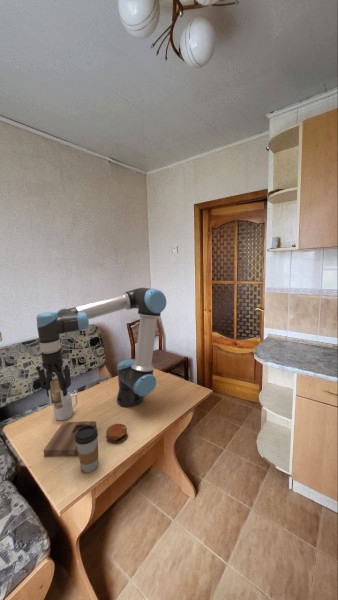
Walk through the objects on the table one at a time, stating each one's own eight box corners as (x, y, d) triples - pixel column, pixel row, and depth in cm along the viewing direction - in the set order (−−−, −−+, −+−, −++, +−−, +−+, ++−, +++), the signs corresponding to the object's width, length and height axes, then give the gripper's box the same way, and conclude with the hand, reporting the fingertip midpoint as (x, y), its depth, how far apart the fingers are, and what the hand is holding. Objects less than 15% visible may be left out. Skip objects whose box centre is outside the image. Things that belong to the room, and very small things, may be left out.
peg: (66, 403, 107) (62, 377, 105) (61, 409, 102) (57, 382, 100) (56, 403, 107) (52, 377, 105) (51, 409, 103) (47, 382, 101)
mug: (58, 424, 123) (55, 403, 121) (52, 416, 129) (49, 396, 127) (81, 413, 131) (79, 393, 129) (75, 406, 137) (72, 388, 135)
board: (96, 426, 119) (96, 421, 119) (82, 456, 101) (81, 449, 101) (64, 427, 120) (63, 421, 119) (44, 456, 102) (43, 450, 102)
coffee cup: (81, 458, 100) (77, 425, 98) (102, 456, 101) (99, 423, 98) (75, 476, 92) (71, 440, 89) (98, 473, 92) (94, 437, 90)
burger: (104, 434, 114) (103, 425, 113) (123, 427, 118) (122, 418, 117) (109, 448, 105) (109, 438, 104) (130, 440, 110) (130, 430, 109)
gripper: (75, 346, 104) (82, 397, 108) (35, 347, 105) (43, 398, 108) (68, 352, 97) (75, 407, 100) (24, 354, 97) (33, 408, 101)
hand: (58, 402), depth 104 cm, fingers closed on peg, 4 cm apart
